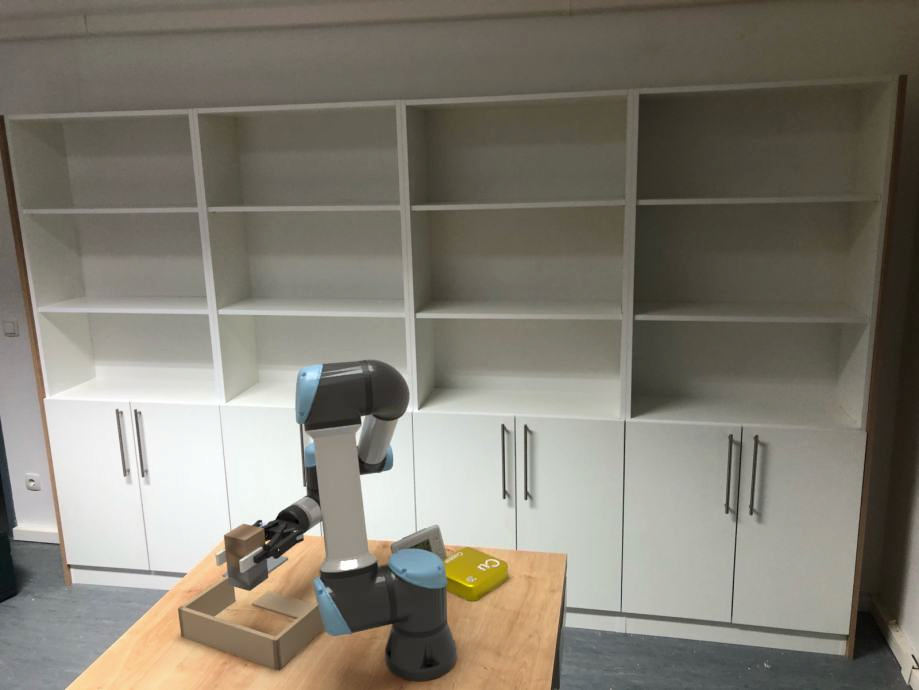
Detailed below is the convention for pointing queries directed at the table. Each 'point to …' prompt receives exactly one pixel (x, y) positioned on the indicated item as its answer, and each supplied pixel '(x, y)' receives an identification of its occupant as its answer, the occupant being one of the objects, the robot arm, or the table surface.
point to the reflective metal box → (237, 548)
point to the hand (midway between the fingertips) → (229, 563)
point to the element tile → (473, 573)
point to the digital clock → (423, 542)
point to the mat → (271, 563)
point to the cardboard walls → (244, 640)
